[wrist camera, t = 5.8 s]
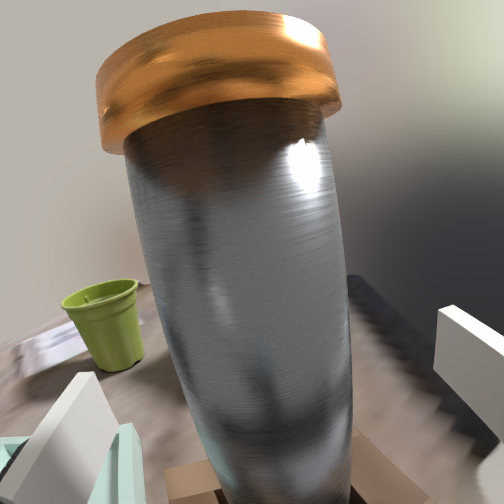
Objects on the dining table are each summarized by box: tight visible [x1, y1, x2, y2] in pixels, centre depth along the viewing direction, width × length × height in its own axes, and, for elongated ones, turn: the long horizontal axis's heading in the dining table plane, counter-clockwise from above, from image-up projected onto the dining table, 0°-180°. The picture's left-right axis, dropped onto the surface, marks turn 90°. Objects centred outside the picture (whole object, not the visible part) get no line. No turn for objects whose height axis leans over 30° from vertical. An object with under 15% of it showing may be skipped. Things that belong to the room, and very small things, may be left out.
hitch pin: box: [95, 10, 353, 504], centre depth 9 cm, size 5×5×20 cm
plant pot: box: [61, 279, 145, 372], centre depth 33 cm, size 9×9×9 cm
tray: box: [0, 423, 146, 504], centre depth 12 cm, size 13×13×2 cm
